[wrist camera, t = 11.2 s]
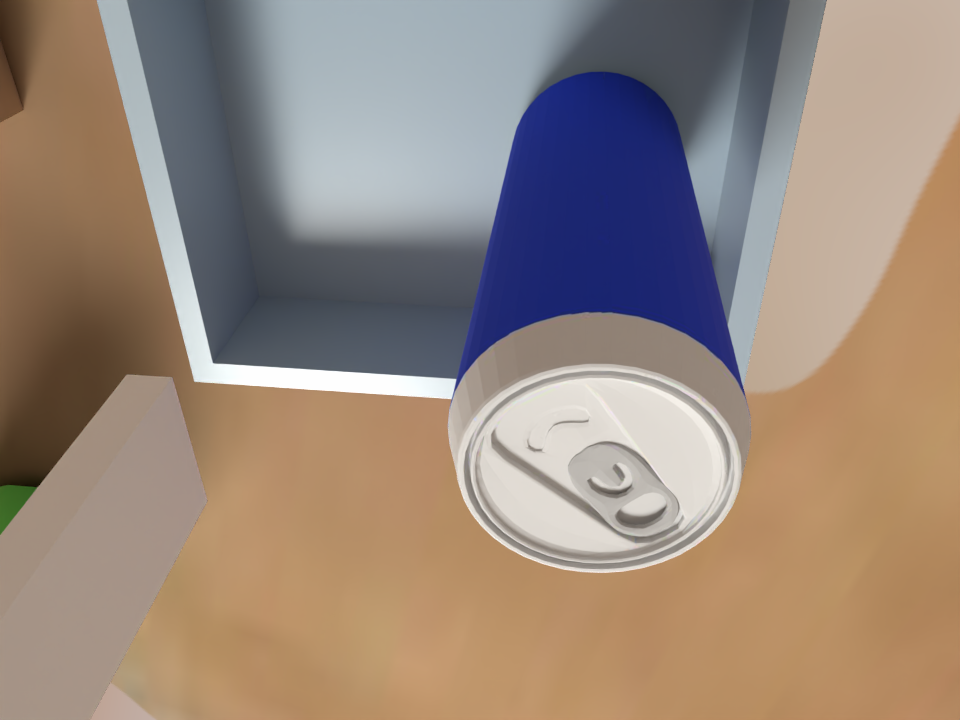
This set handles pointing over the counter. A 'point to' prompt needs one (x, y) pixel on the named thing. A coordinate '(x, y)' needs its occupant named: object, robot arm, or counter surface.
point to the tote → (418, 160)
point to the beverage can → (598, 344)
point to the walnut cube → (7, 90)
